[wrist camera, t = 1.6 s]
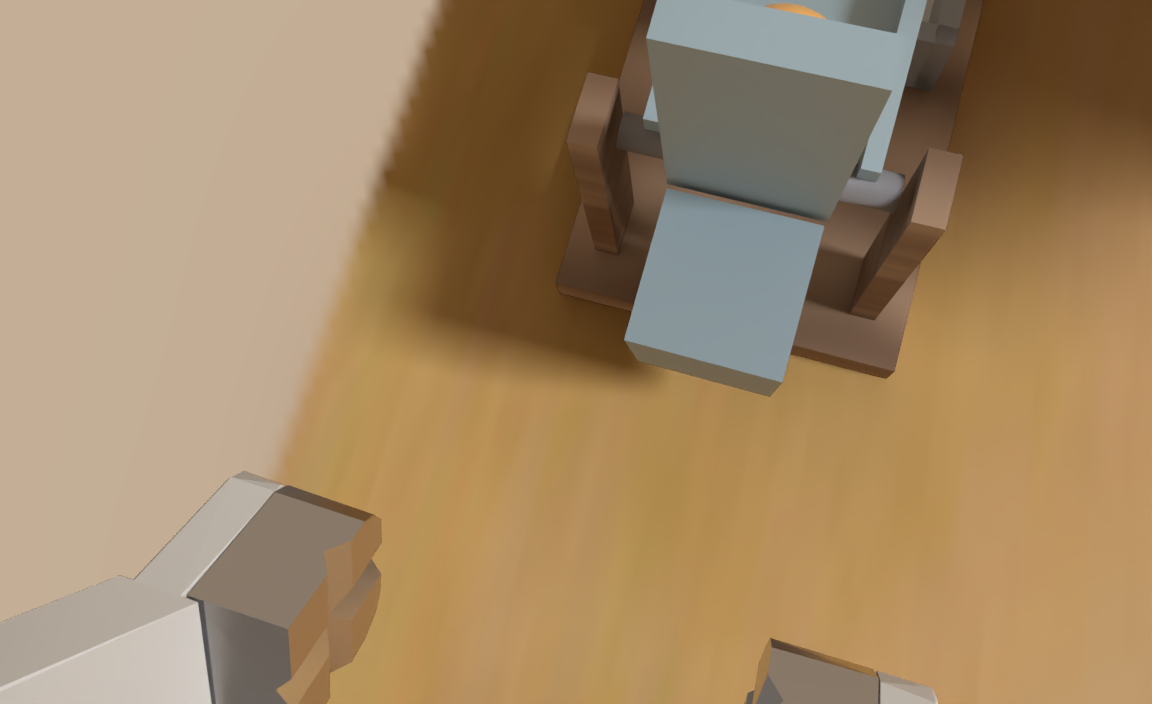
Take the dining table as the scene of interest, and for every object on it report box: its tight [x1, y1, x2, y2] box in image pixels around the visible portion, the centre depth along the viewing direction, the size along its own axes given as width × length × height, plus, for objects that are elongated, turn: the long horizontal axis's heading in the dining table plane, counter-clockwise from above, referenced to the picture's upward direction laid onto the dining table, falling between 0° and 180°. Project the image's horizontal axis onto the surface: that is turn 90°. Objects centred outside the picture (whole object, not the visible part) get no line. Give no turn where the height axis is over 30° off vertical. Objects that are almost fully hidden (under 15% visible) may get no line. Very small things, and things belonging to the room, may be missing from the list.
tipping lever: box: [617, 0, 927, 397], centre depth 28 cm, size 18×9×16 cm, turn 164°
